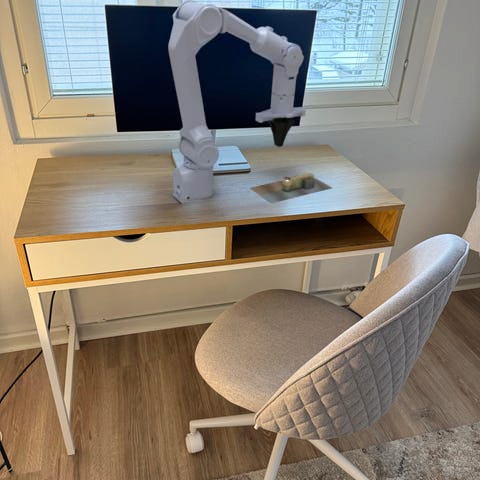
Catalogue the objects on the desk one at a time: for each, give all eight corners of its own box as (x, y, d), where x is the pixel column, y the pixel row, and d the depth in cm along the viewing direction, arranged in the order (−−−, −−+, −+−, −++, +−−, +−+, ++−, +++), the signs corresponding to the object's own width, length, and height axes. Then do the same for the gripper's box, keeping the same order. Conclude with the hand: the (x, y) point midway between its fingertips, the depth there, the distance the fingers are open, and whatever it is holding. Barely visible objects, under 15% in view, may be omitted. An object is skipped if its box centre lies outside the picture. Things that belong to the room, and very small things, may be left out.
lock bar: (285, 191, 118) (286, 180, 117) (279, 188, 120) (280, 176, 119) (314, 185, 123) (315, 174, 121) (308, 181, 124) (309, 171, 123)
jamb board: (271, 207, 114) (271, 203, 113) (249, 192, 121) (249, 187, 120) (332, 192, 123) (333, 187, 122) (308, 178, 130) (309, 174, 130)
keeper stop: (305, 189, 121) (306, 181, 119) (302, 188, 121) (303, 179, 120) (314, 187, 122) (315, 179, 121) (311, 186, 123) (312, 177, 122)
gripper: (268, 100, 110) (264, 154, 117) (315, 94, 117) (309, 146, 124) (252, 93, 115) (249, 145, 122) (298, 88, 122) (293, 138, 129)
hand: (278, 145), depth 123 cm, fingers closed
